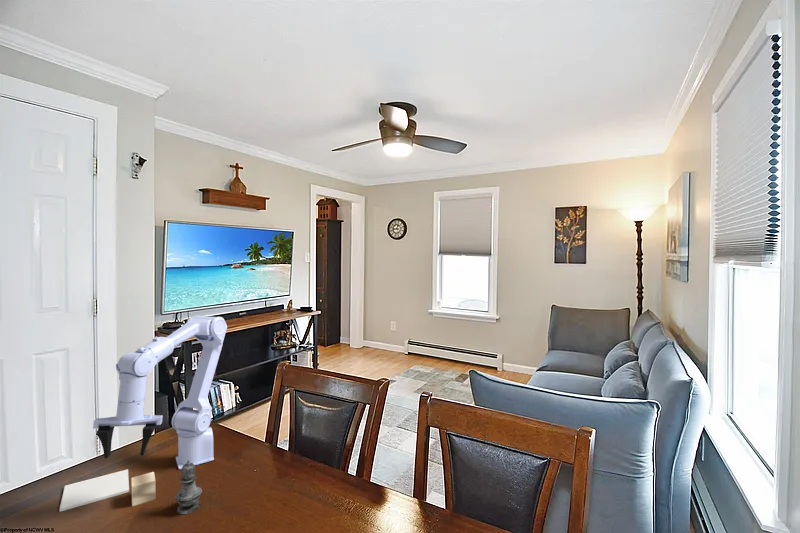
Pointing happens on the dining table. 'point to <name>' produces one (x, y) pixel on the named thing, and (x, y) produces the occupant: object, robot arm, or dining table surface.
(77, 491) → the white mat
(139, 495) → the birch block
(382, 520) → the dining table surface
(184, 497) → the grey stone chess piece
